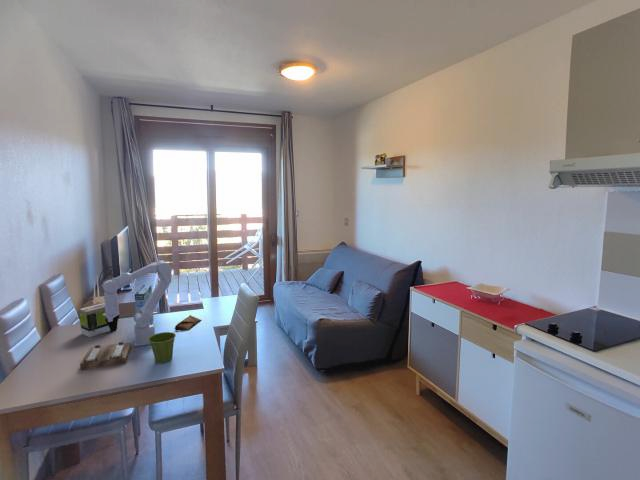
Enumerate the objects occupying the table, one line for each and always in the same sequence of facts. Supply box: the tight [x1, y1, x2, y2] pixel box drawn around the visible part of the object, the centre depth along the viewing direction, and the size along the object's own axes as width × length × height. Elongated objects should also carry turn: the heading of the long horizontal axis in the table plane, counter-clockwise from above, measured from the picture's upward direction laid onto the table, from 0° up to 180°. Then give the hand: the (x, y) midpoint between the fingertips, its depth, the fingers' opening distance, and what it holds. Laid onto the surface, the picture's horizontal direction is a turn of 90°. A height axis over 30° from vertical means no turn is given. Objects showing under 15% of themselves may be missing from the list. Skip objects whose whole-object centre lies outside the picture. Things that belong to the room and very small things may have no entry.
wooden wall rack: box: [79, 341, 133, 371], centre depth 170 cm, size 18×18×5 cm
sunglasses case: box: [174, 314, 202, 332], centre depth 212 cm, size 18×7×7 cm
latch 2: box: [112, 344, 124, 358], centre depth 170 cm, size 3×13×1 cm, turn 20°
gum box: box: [134, 284, 154, 325], centre depth 207 cm, size 20×5×23 cm, turn 13°
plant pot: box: [148, 331, 177, 364], centre depth 167 cm, size 12×12×11 cm
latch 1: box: [87, 347, 101, 361], centre depth 167 cm, size 3×13×1 cm, turn 20°
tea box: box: [78, 302, 111, 338], centre depth 202 cm, size 15×10×15 cm, turn 144°
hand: (113, 331), depth 179 cm, fingers closed
